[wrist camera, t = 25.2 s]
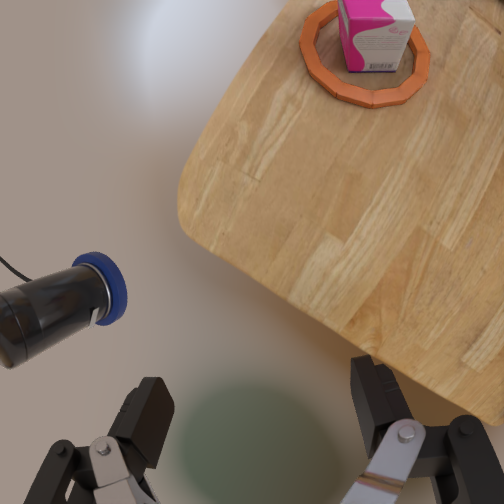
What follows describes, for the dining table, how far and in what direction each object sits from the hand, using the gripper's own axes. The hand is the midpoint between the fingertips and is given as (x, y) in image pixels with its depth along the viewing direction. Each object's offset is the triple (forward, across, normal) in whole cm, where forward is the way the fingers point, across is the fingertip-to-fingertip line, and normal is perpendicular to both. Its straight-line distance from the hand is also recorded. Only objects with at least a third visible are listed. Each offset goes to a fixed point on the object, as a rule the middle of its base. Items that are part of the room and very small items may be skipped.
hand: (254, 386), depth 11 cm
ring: (+24, -15, -20) cm, 34 cm away
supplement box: (+24, -16, -19) cm, 34 cm away
